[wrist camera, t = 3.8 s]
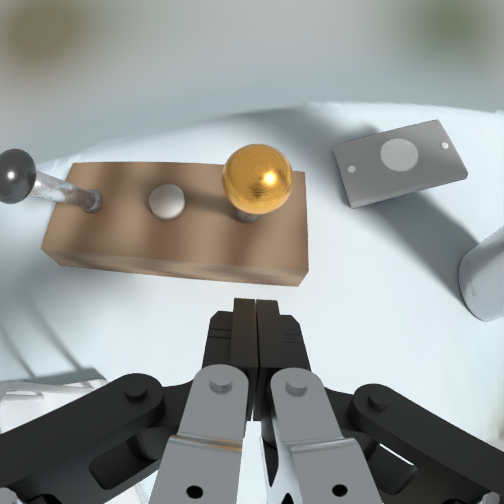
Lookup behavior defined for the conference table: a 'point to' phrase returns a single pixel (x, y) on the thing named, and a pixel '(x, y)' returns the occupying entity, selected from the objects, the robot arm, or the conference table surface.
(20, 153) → the lever black
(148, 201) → the switch panel
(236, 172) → the lever orange
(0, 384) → the file sorter
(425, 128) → the light switch
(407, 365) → the conference table surface
